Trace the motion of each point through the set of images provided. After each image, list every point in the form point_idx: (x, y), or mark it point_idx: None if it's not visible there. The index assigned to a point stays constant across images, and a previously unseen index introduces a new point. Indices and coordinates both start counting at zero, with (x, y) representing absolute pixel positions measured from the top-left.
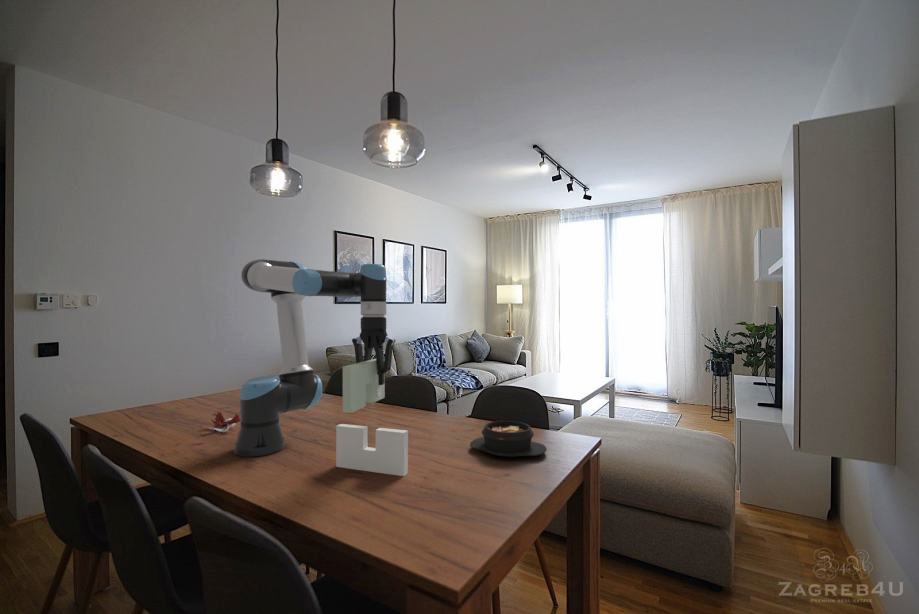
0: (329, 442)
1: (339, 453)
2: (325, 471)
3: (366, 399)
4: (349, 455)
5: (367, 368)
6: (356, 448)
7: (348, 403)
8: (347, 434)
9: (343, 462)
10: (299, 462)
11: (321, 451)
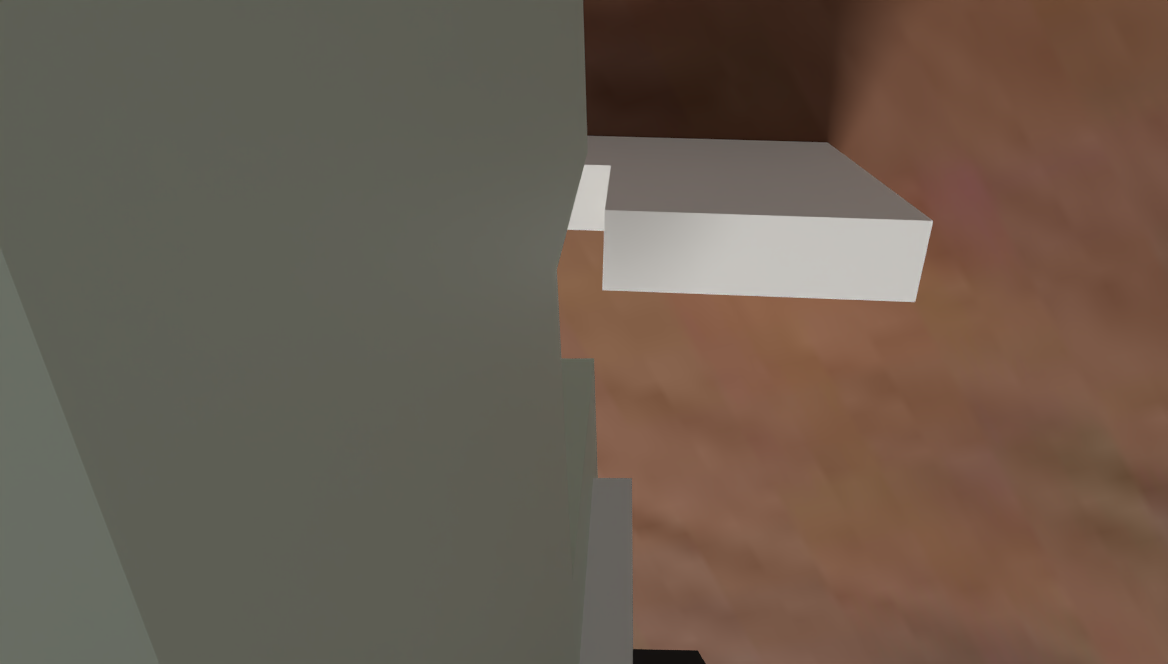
0: (1078, 516)
1: (823, 159)
2: (864, 43)
3: (563, 381)
4: (732, 157)
5: None
6: (672, 166)
7: None
8: (778, 196)
9: (775, 147)
10: (1140, 139)
11: (1063, 364)
